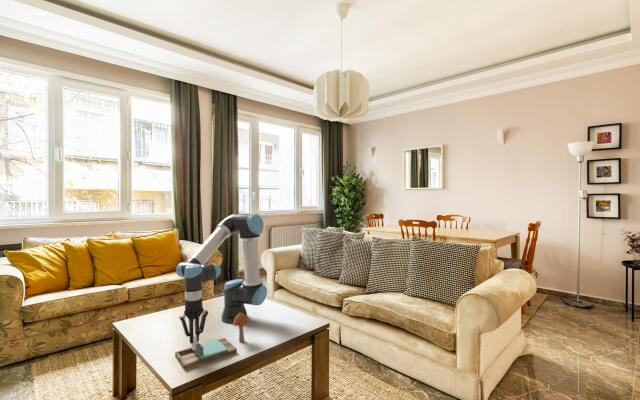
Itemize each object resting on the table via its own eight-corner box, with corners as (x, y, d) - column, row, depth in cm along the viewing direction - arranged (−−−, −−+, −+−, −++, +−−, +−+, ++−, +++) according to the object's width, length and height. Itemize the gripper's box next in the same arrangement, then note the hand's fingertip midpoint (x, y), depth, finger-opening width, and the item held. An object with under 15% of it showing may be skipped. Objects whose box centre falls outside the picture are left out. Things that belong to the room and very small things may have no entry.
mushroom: (234, 338, 172) (234, 309, 172) (249, 337, 173) (249, 309, 172) (231, 345, 164) (231, 315, 164) (247, 344, 165) (247, 315, 164)
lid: (191, 347, 157) (191, 338, 156) (216, 340, 164) (216, 331, 164) (201, 359, 146) (201, 349, 146) (227, 350, 153) (227, 341, 153)
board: (175, 356, 153) (175, 352, 152) (224, 342, 167) (224, 337, 167) (184, 370, 141) (184, 365, 141) (236, 353, 156) (236, 348, 156)
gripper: (181, 304, 143) (182, 356, 144) (210, 297, 151) (211, 348, 152) (176, 299, 149) (177, 350, 150) (205, 293, 157) (205, 342, 158)
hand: (194, 349), depth 151 cm, fingers closed
